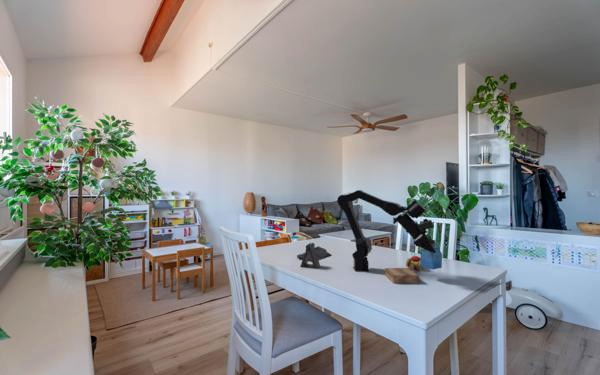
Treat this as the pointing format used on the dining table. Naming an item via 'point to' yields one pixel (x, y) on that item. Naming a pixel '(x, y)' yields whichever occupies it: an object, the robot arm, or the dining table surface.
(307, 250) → the phone stand
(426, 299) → the dining table surface
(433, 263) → the perfume bottle
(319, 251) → the stegosaurus figurine
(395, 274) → the walnut plinth
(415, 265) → the kendama
